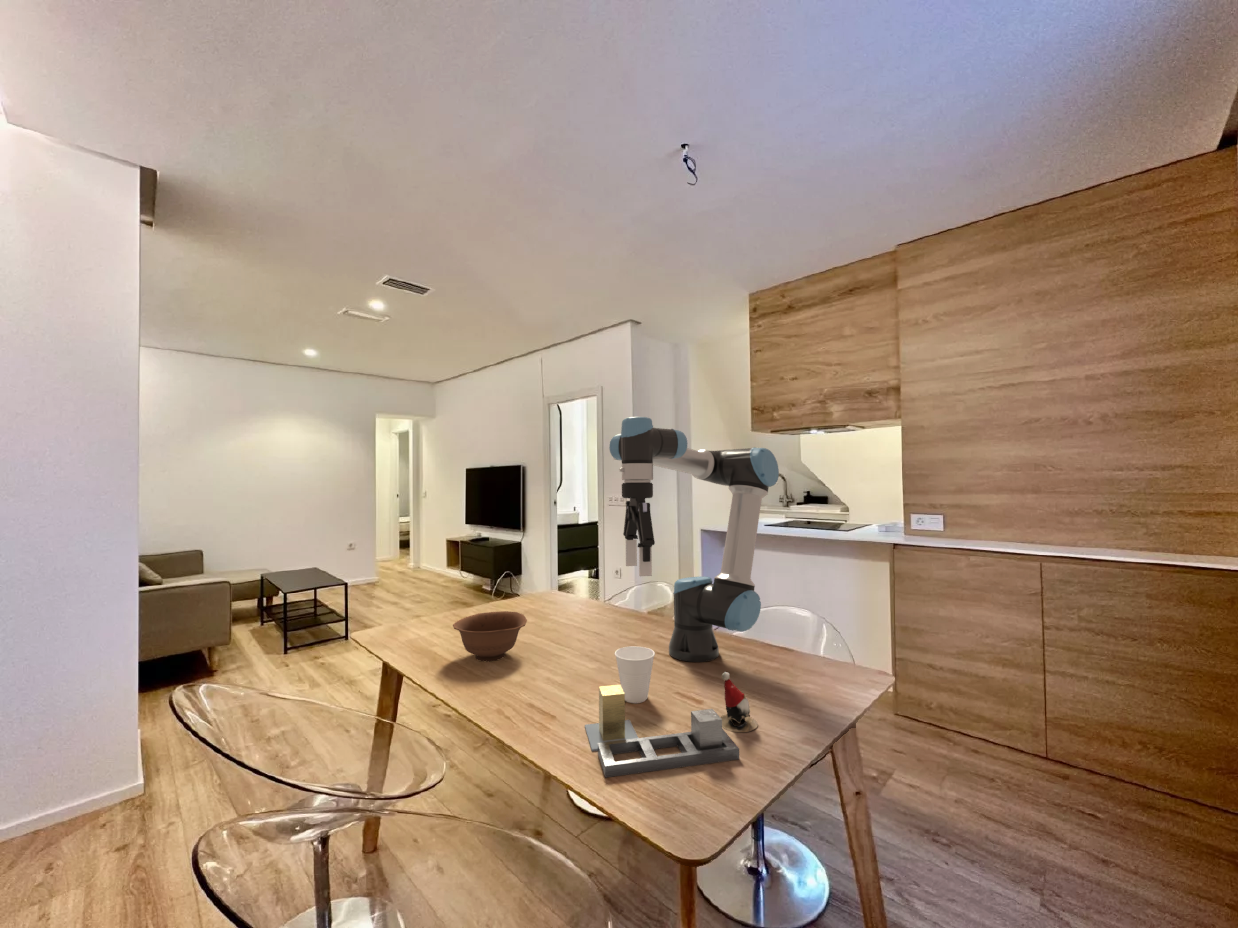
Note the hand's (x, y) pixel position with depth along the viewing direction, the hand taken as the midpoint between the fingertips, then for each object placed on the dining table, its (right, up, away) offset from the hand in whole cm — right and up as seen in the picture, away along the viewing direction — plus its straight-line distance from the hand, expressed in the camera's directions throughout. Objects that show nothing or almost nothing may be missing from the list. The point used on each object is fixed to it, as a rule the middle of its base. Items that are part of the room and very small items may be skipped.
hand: (638, 570), depth 117 cm
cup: (-1, -32, +3) cm, 32 cm away
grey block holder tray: (+5, -31, -23) cm, 39 cm away
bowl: (-44, -33, +32) cm, 64 cm away
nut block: (-6, -31, -15) cm, 35 cm away
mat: (-6, -31, -15) cm, 35 cm away
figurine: (+21, -32, -10) cm, 39 cm away
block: (+13, -31, -21) cm, 39 cm away
